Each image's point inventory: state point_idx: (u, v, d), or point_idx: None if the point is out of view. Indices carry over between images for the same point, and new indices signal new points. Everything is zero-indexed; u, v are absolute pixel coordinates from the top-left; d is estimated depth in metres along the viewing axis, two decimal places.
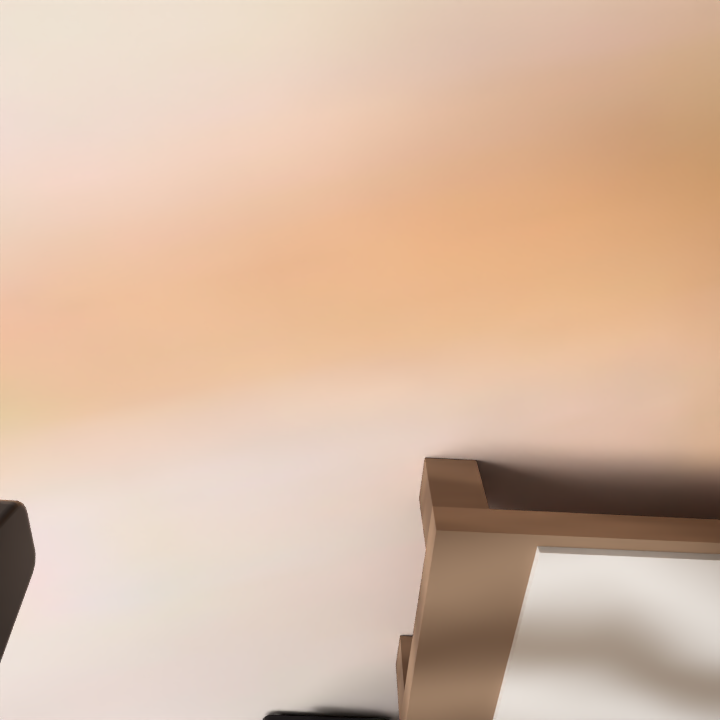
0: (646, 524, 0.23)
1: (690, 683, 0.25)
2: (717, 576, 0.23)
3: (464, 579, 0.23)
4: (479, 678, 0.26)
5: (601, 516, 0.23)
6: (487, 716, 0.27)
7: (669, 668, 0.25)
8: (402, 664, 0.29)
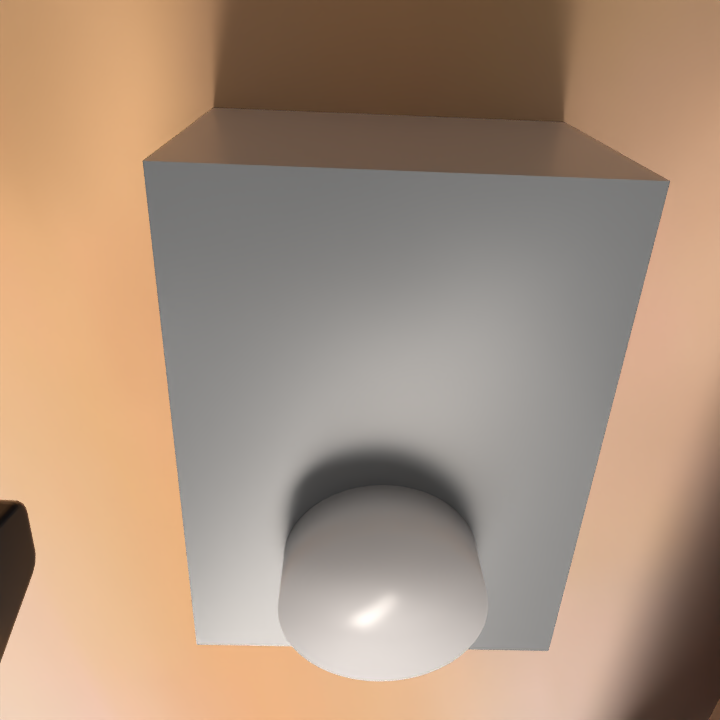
0: None
1: None
2: None
3: None
4: None
5: None
6: None
7: None
8: None
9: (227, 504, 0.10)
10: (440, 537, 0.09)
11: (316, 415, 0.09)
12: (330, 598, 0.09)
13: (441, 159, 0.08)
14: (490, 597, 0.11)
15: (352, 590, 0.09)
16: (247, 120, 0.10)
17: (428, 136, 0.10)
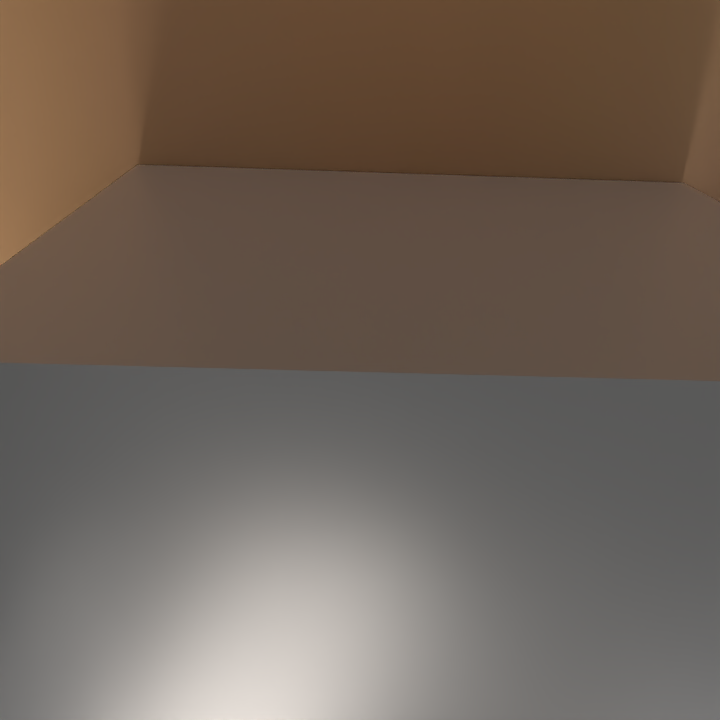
0: None
1: None
2: None
3: None
4: None
5: None
6: None
7: None
8: None
9: None
10: None
11: None
12: None
13: (540, 317, 0.04)
14: None
15: None
16: (176, 200, 0.06)
17: (491, 235, 0.05)
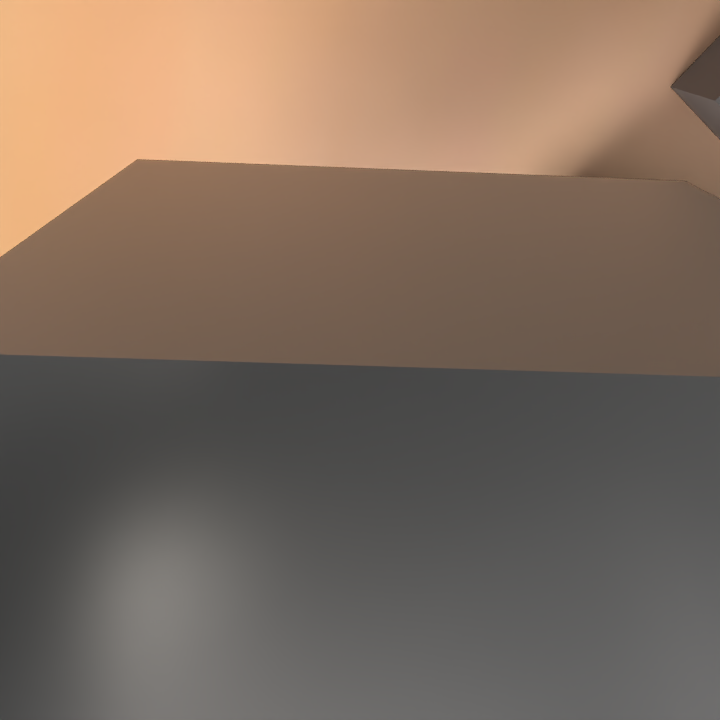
0: None
1: None
2: None
3: None
4: None
5: None
6: None
7: None
8: None
9: None
10: None
11: None
12: None
13: (543, 312, 0.04)
14: None
15: None
16: (176, 194, 0.06)
17: (493, 231, 0.05)
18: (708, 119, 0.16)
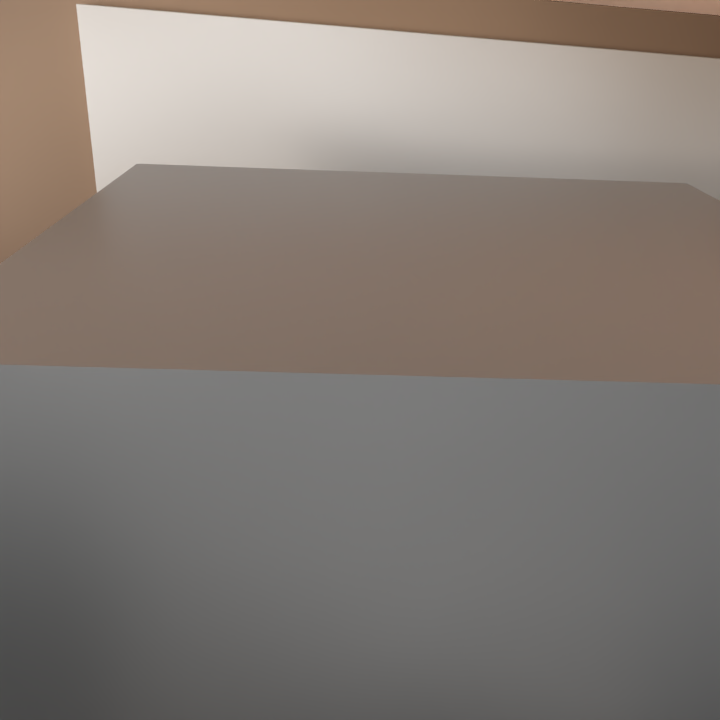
0: None
1: None
2: (559, 106, 0.09)
3: None
4: None
5: None
6: None
7: None
8: None
9: None
10: None
11: None
12: None
13: (544, 319, 0.04)
14: None
15: None
16: (175, 199, 0.06)
17: (493, 236, 0.05)
18: None
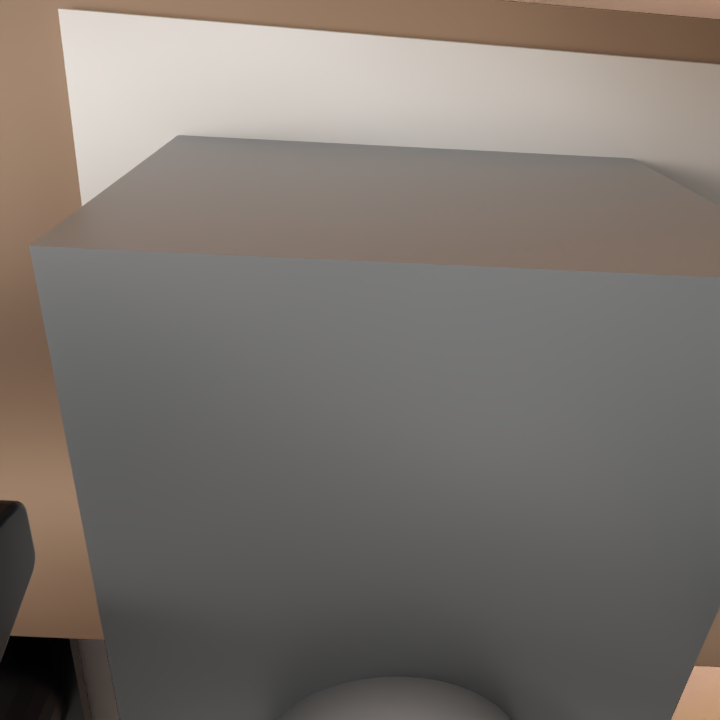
0: None
1: None
2: (564, 115, 0.09)
3: None
4: (64, 454, 0.11)
5: None
6: None
7: None
8: None
9: (180, 698, 0.07)
10: None
11: (305, 593, 0.06)
12: None
13: (496, 237, 0.05)
14: None
15: None
16: (215, 160, 0.07)
17: (467, 189, 0.07)
18: None
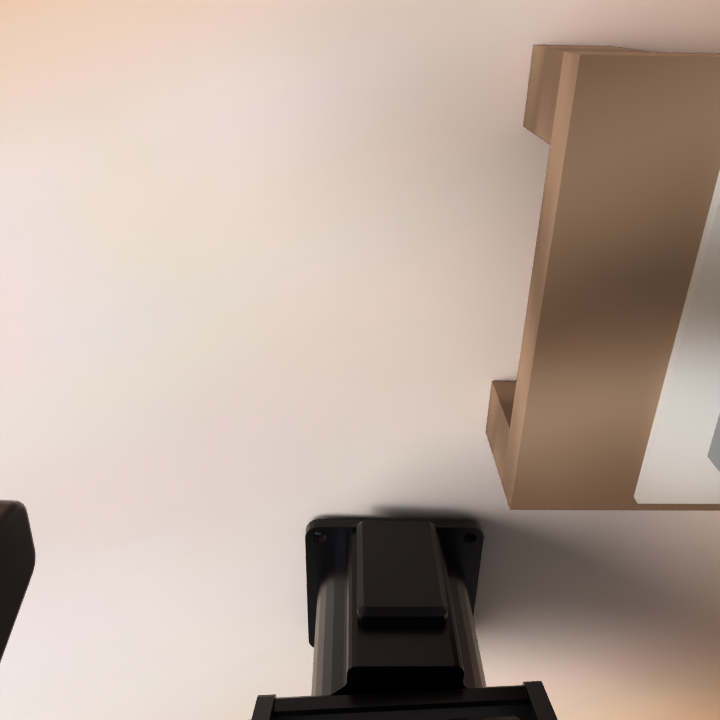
0: None
1: None
2: None
3: (620, 163, 0.15)
4: (631, 369, 0.17)
5: None
6: (638, 443, 0.18)
7: None
8: (501, 405, 0.21)
9: None
10: None
11: None
12: None
13: None
14: None
15: None
16: None
17: None
18: None
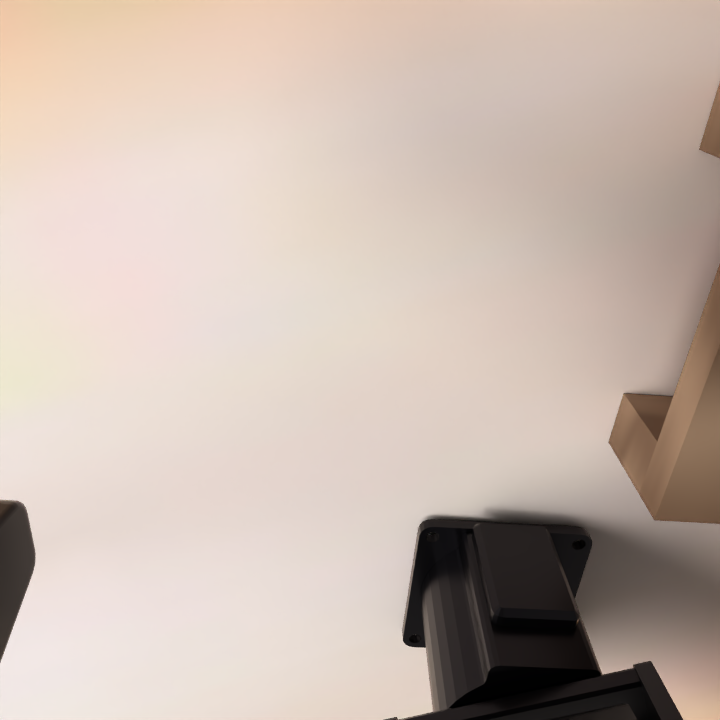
0: None
1: None
2: None
3: None
4: None
5: None
6: None
7: None
8: (640, 418, 0.21)
9: None
10: None
11: None
12: None
13: None
14: None
15: None
16: None
17: None
18: None
